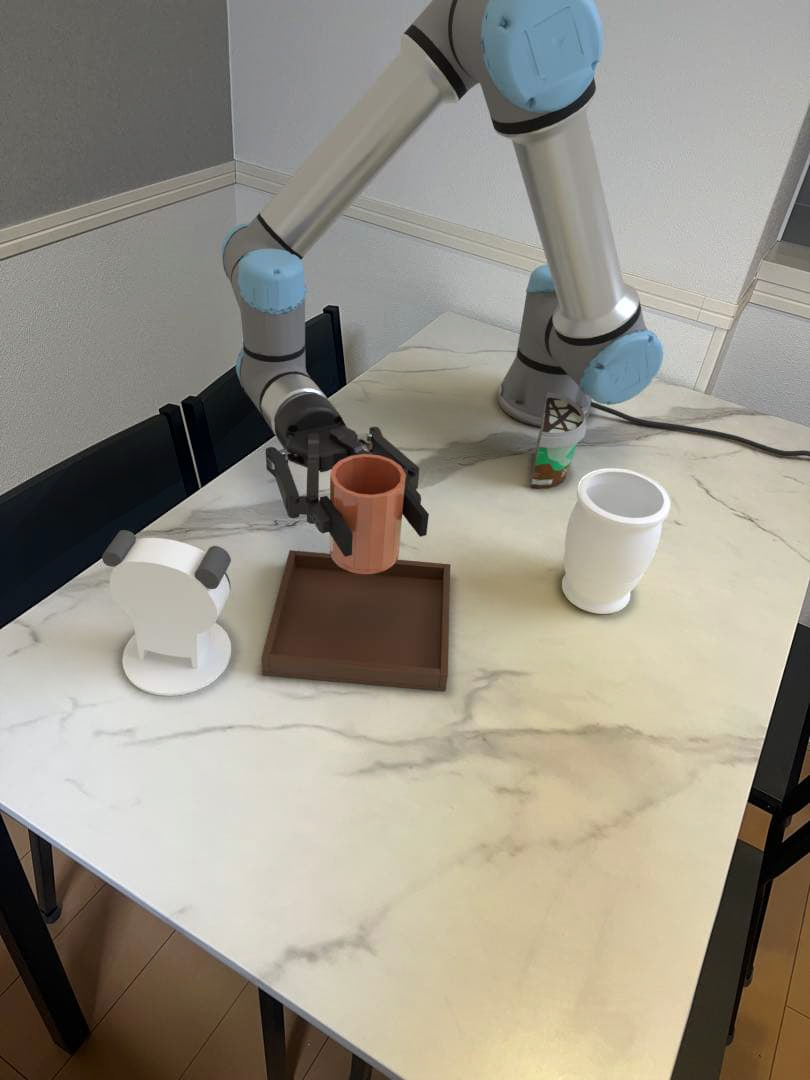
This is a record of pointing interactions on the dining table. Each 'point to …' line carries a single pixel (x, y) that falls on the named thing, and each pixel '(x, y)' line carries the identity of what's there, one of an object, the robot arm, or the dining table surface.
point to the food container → (557, 441)
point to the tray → (360, 624)
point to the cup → (368, 511)
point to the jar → (612, 537)
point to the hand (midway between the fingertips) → (387, 535)
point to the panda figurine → (170, 611)
